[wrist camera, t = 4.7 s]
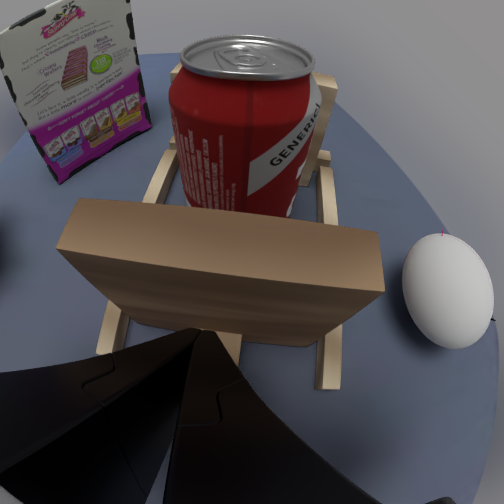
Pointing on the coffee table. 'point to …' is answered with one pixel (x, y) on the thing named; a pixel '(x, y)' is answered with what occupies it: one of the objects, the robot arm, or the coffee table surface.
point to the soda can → (243, 122)
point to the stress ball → (447, 291)
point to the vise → (327, 214)
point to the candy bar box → (76, 80)
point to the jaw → (224, 269)
